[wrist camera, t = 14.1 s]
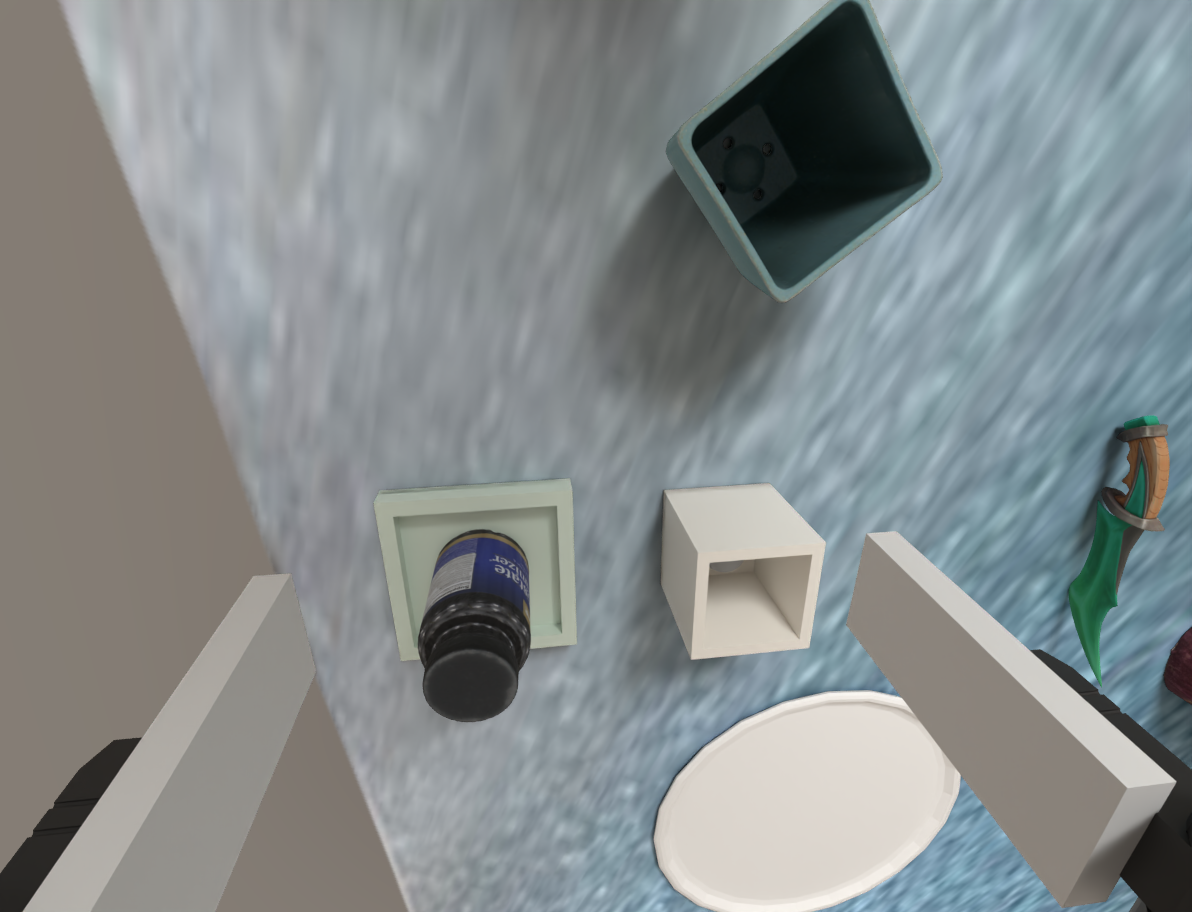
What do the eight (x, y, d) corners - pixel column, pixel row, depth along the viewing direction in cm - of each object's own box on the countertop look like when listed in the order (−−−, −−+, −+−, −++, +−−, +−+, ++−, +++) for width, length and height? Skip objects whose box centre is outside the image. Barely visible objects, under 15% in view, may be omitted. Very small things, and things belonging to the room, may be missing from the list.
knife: (1113, 408, 42) (1186, 432, 37) (1136, 406, 42) (1211, 430, 37) (1039, 646, 50) (1092, 690, 46) (1059, 644, 50) (1113, 687, 46)
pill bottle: (545, 575, 40) (556, 697, 30) (470, 618, 41) (456, 752, 31) (494, 509, 38) (487, 617, 28) (415, 555, 38) (380, 678, 28)
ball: (696, 520, 40) (709, 543, 37) (738, 517, 40) (755, 539, 38) (693, 558, 41) (706, 583, 38) (735, 555, 41) (751, 579, 39)
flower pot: (718, 286, 35) (781, 309, 27) (631, 154, 32) (672, 133, 23) (843, 187, 34) (949, 179, 25) (765, 39, 30) (859, -27, 22)
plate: (692, 940, 60) (696, 954, 59) (612, 750, 49) (614, 763, 47) (961, 849, 60) (970, 862, 59) (945, 638, 49) (956, 648, 47)
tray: (379, 490, 37) (373, 503, 35) (569, 478, 38) (572, 490, 37) (405, 643, 41) (400, 661, 40) (574, 628, 43) (576, 644, 41)
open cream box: (663, 490, 39) (697, 552, 32) (769, 483, 40) (825, 542, 33) (660, 582, 42) (690, 659, 35) (758, 574, 43) (808, 647, 36)
